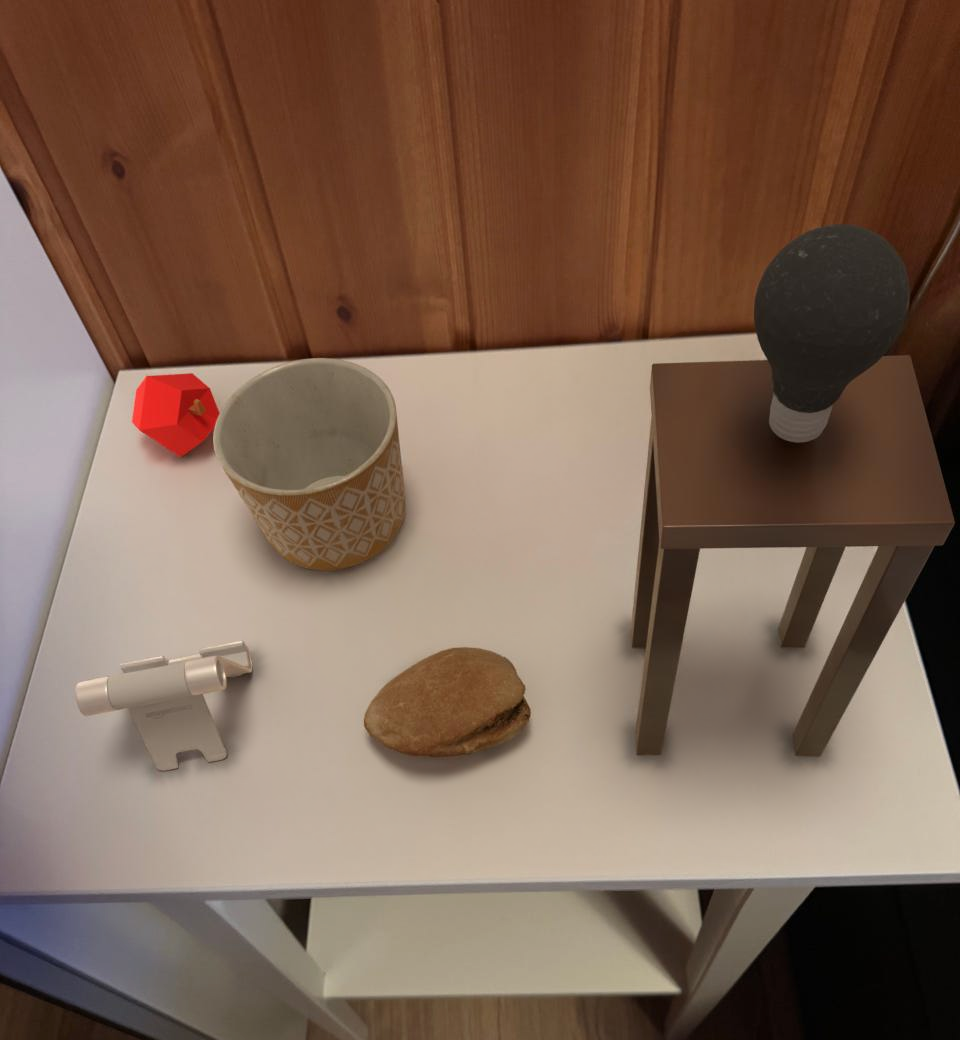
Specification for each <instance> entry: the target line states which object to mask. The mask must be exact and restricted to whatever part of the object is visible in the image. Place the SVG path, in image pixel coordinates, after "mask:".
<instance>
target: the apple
mask: <svg viewBox="0 0 960 1040" xmlns="http://www.w3.org/2000/svg"><path fill="white" fill-rule="evenodd" d="M219 414H220V410H219V408H218V405H217V403H216V400H215V398H214V395H213V392H212V390H211V387H209V386H208V385H207V384H206V383H205V382H204V381H202V379H200V378H199V377H198V376H196V375H195V373H193V372H189V373H173V374H158V375H157V374H155V375H146V376H145V378H144V379H143V380H142V382H141V383H140V384H139V385H138V386H137V388H136V390H135V396H134V404H133V412H132V418H131V423H132V424H133V425H134V427H136V428H137V429H138V431H139V432H141V433H142V434H144V435H145V436H148V437H149V438H150V439H152V440H153V441H155V442H157V444H159V445H161V446H162V447H164V448H166V449H167V450H169V451H170V452H171V453H173V454H174V455H176V456H178V457H179V458H181V457H183V456H185V455H186V454H188V453H189V452H190V451H192V450H193V449H195V448H196V447H197V446H198V445H200V444H201V443H203V442H204V441H205V440H206V439H207V437H209V435H211V433H212V432H213V431H214V428H215V424H216V421H217V418H218V416H219Z"/></svg>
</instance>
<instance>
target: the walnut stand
mask: <svg viewBox="0 0 960 1040" xmlns="http://www.w3.org/2000/svg"><path fill="white" fill-rule="evenodd" d="M773 394H774V390H773V386H772V369H771V366H770V364H769V362H768V360H767V359H751V360H747V359H746V360H719V361H689V362H686V361H685V362H658V363H657V362H656V363H652V364H651V370H650V382H649V397H650V412H651V417H650V427H649V438H648V448H647V459H646V460H647V461H646V468H645V469H646V470H645V477H644V478H645V480H644V481H645V482H644V489H643V498H642V500H643V501H642V510H641V519H640V530H639V531H640V532H639V540H638V541H639V542H638V550H637V551H638V552H637V560H636V561H637V563H636V572H635V583H634V584H635V585H634V594H633V601H632V602H633V604H632V614H631V625H630V642H631V649H645V653H644V662H643V667H642V677H641V683H640V684H641V686H640V691H639V699H638V709H637V715H636V722H635V723H636V724H635V732H634V736H635V755H636V756H661V755H662V753H663V746H664V742H665V737H666V731H667V727H668V720H669V716H670V711H671V706H672V705H671V704H672V700H673V694H674V690H675V683H676V678H677V673H678V669H679V662H680V658H681V652H682V647H683V643H684V636H685V630H686V626H687V620H688V616H689V610H690V604H691V599H692V594H693V590H694V588H693V587H694V584H695V578H696V572H697V568H698V562H699V558H700V553H701V549H702V550H703V549H770V548H771V549H774V548H775V549H776V548H782V549H783V548H805V550H804V553H803V556H802V559H801V562H800V564H799V567H798V570H797V573H796V576H795V579H794V582H793V585H792V587H791V591H790V593H789V596H788V599H787V602H786V605H785V607H784V610H783V612H782V613H783V614H782V616H781V619H780V621H779V624H778V627H777V628H778V629H777V630H778V637H779V644H780V648H783V649H784V648H785V649H787V648H788V649H790V648H791V649H792V648H794V649H798V648H806V645H807V643H808V641H809V638H810V636H811V633H812V630H813V628H814V626H815V623H816V621H817V619H818V616H819V614H820V611H821V609H822V606H823V604H824V601H825V600H826V596H827V594H828V592H829V589H830V587H831V583H832V582H833V579H834V576H835V574H836V572H837V569H838V567H839V564H840V563H841V560H842V557H843V555H844V553H845V550H846V548H847V547H849V548H850V547H852V548H855V547H857V548H858V547H877V549H876V551H875V553H874V554H873V557H872V560H871V562H870V564H869V566H868V568H867V571H866V573H865V575H864V577H863V580H862V581H861V583H860V585H859V588H858V590H857V592H856V594H855V597H854V599H853V601H852V604H851V605H850V607H849V610H848V612H847V614H846V617H845V618H844V621H843V623H842V625H841V628H840V630H839V632H838V634H837V636H836V637H835V638H836V639H835V641H834V642H833V645H832V647H831V649H830V651H829V654H828V655H827V658H826V660H825V662H824V665H823V666H822V669H821V672H820V674H819V676H818V678H817V680H816V682H815V684H814V687H813V688H812V690H811V693H810V696H809V698H808V699H807V702H806V704H805V706H804V708H803V711H802V713H801V715H800V717H799V719H798V722H797V724H796V726H795V728H794V731H793V732H792V738H793V747H794V753H795V756H796V757H822V755H823V754H824V752H825V750H826V748H827V746H828V744H829V742H830V740H831V738H832V737H833V735H834V733H835V731H836V729H837V727H838V725H839V723H840V722H841V720H842V718H843V716H844V714H845V712H846V710H847V709H848V707H849V705H850V703H851V702H852V700H853V698H854V696H855V694H856V693H857V690H858V689H859V686H860V685H861V683H862V682H863V679H864V678H865V676H866V674H867V672H868V670H869V668H870V666H871V664H872V662H873V661H874V659H875V657H876V655H877V653H878V652H879V650H880V648H881V646H882V644H883V642H884V640H885V639H886V637H887V635H888V633H889V631H890V629H891V628H892V625H893V624H894V622H895V620H896V618H897V616H898V614H899V613H900V611H901V609H902V607H903V605H904V603H905V602H906V601H907V599H908V596H909V594H910V593H911V591H912V589H913V587H914V585H915V583H916V581H917V579H918V578H919V576H920V574H921V572H922V570H923V568H924V566H925V565H926V563H927V561H928V560H929V557H930V555H931V553H932V552H933V550H934V549H935V546H937V547H938V546H943V545H944V544H945V542H946V541H947V538H948V537H949V535H950V533H951V532H952V529H953V528H954V526H955V524H956V522H955V517H954V515H953V510H952V507H951V503H950V499H949V496H948V491H947V488H946V484H945V480H944V477H943V473H942V470H941V469H942V468H941V466H940V462H939V459H938V454H937V451H936V447H935V443H934V439H933V435H932V432H931V428H930V425H929V421H928V417H927V413H926V410H925V406H924V405H925V404H924V402H923V398H922V395H921V391H920V387H919V384H918V379H917V376H916V372H915V368H914V365H913V361H912V357H911V355H909V354H908V355H904V354H903V355H883V356H882V357H881V359H880V360H879V361H878V362H877V363H876V364H874V365H873V366H872V367H870V368H869V369H868V370H866V371H865V372H863V373H862V374H861V375H859V376H858V377H856V378H855V379H853V380H852V381H851V382H850V383H849V384H848V385H847V386H846V387H845V389H844V391H843V392H842V394H841V396H840V397H839V399H838V400H837V401H836V402H835V403H834V404H833V406H832V410H831V413H830V416H829V418H828V423H827V425H826V427H825V428H824V429H823V431H822V433H821V434H820V435H819V436H818V437H817V438H815V439H813V440H810V441H807V442H790V441H787V440H784V439H782V438H780V437H779V436H777V435H776V434H775V433H774V432H773V430H772V429H771V427H770V424H769V418H770V407H771V404H772V399H773Z"/></svg>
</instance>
